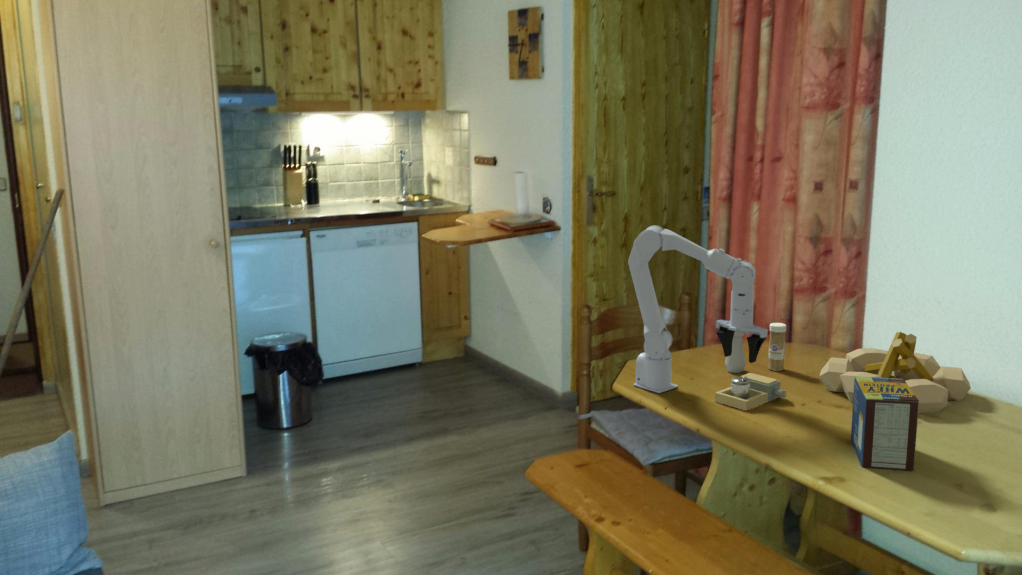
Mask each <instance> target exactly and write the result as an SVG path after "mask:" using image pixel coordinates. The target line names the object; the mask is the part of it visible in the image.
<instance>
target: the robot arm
mask: <svg viewBox="0 0 1022 575" xmlns="http://www.w3.org/2000/svg"><path fill="white" fill-rule="evenodd" d="M660 249H661V251H662V252H665V251H673V250H674V251H676V252H677V251H678V252H680V253H682V254H685V255H686V256H688V257H691V258H693V259H696V260H697V261H701V263H702V264H703V266H704V269H706V270H708V271H710V272H712V273H715V274H717V275H719V276H720V277H723V278H725V279H726V280H730V281H731V283H732V287H731V289H732V290H731V292H730V318H729V320H725V319H718V320H715V328H716V329H718V330H716V336H718V338H719V340H720V341H719V342H720V344H721V347H722V349H723V356H724V357H725V358H726V357H728V356H731V353H732V341H733V336H734V332H735V331H737V332H741V333H744V334H747V335H750V336H747V337H746V341H747V345H748V346H747V347H748V363H751V364H752V363H755V362H756V361H757V358H758V355H759V352H760V349H761V347H762V345H763V344H764V342H765V341H766V339H767V337H768V333H769V332H768V331H769V329H767V328H763V327H761V326H757V325H755V324H754V304H755V303H754V301H755V291H754V289H755V285H754V281H755V277H756V268H755V267H754V265H753V264H752V263H750V262H749V261H748V260H742V258H741V257H737V258H736V257H734V256H731V255H730V254H727V253H726V250H724V249H723V248H719V249H718V248H712V249H709V250H708V249H706V248H704V247H702V246H700V245H699V244H697V243H696V242H693V241H691V240H689V239H687V238H686V237H683V236H682V235H679V234H678V233H677V232H675V231H672V230H670V229H667V228H663V227H661V226H660V225H655V224H654V225H650V226H648V227H647V228H645V229H644V230H642V231H641V232H640V233H639V234H638V236H637V237H635V239H634V241H633V244H632V247H631V251H630V254H629V256H628V260H627V264H628V267H629V272H630V275H631V278H632V279H631V280H632V283H633V288H634V290H635V294H636V299H637V302H638V307H639V311H640V314H641V319H642V321H643V322H642V323H643V336H644V342H643V350H644V352H641V353H640V354H638V356H637V358H636V361H635V373H634V374H635V382H634V383H632V384H633V386H634V387H638V388H640V389H644V390H647V391H651V392H653V393H658V394H661V393H664V392H667V391H670V390H673V389H675V388H677V387H678V386H679V385H678V384H676V383H672V353H671V352H670V347H671V346H672V345H673V335H672V334H671V332H670V330H668V329H667V326H666V323H665V321H664V320H663V318H662V314H661V310H660V307H659V303H658V302H659V301H658V298H657V294H656V291H655V286H654V282H653V278H652V275H651V271H650V267H649V262H650V260H652V257H653V256H654V254H656V253H657V252H658V250H660Z"/></svg>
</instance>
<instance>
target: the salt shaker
mask: <svg viewBox="0 0 1022 575" xmlns="http://www.w3.org/2000/svg"><path fill="white" fill-rule="evenodd" d="M744 335H745V333H741V332H737V331H735V332H734V336H733V341H732V353H731V356H728V357H725V361H724V364H725V368H726V370H727V372H729V373H731V374H741V373H743V372H744V369H745V368H746V365H747V363H746V356H745V350H744V343H743V337H744ZM740 372H741V373H740Z"/></svg>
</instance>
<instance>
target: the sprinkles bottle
mask: <svg viewBox="0 0 1022 575" xmlns="http://www.w3.org/2000/svg"><path fill="white" fill-rule="evenodd" d="M768 331H769V344H768V365H767V368H768V370H771V371H774V372H780V371H783V370H785V366H784V365H785V354H786V352H785V350H786V332H787V324H785V323H782V322H771V323H770V324H769V329H768Z"/></svg>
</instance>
